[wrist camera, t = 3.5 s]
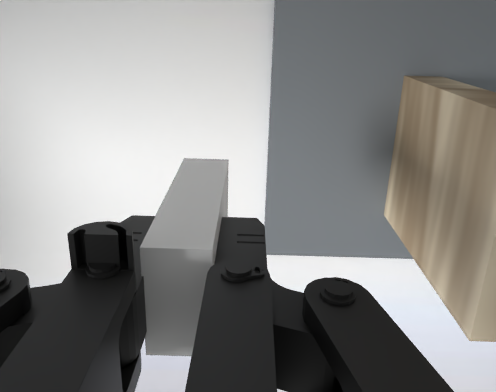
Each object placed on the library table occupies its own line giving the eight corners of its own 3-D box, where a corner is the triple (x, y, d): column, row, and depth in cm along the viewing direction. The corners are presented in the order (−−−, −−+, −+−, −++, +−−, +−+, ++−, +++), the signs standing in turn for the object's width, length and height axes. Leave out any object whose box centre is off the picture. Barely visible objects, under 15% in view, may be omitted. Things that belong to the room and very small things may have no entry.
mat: (263, 250, 25) (263, 254, 25) (287, -273, 17) (288, -282, 17) (629, 260, 25) (636, 265, 25) (818, -256, 17) (833, -264, 17)
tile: (383, 214, 24) (469, 341, 14) (404, 75, 21) (523, 119, 12) (421, 215, 24) (531, 342, 14) (446, 76, 21) (598, 121, 12)
